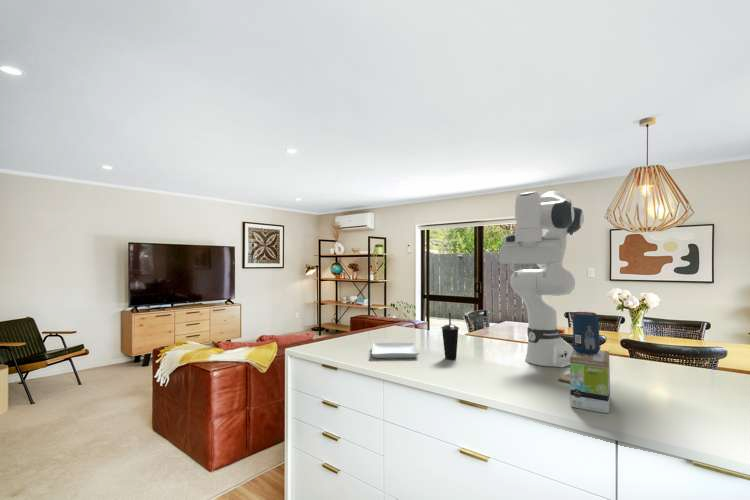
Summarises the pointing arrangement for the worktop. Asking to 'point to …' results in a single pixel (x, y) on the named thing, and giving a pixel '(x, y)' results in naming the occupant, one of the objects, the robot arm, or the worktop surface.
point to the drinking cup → (450, 340)
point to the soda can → (586, 333)
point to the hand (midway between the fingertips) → (530, 276)
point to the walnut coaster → (565, 378)
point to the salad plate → (394, 350)
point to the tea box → (590, 381)
